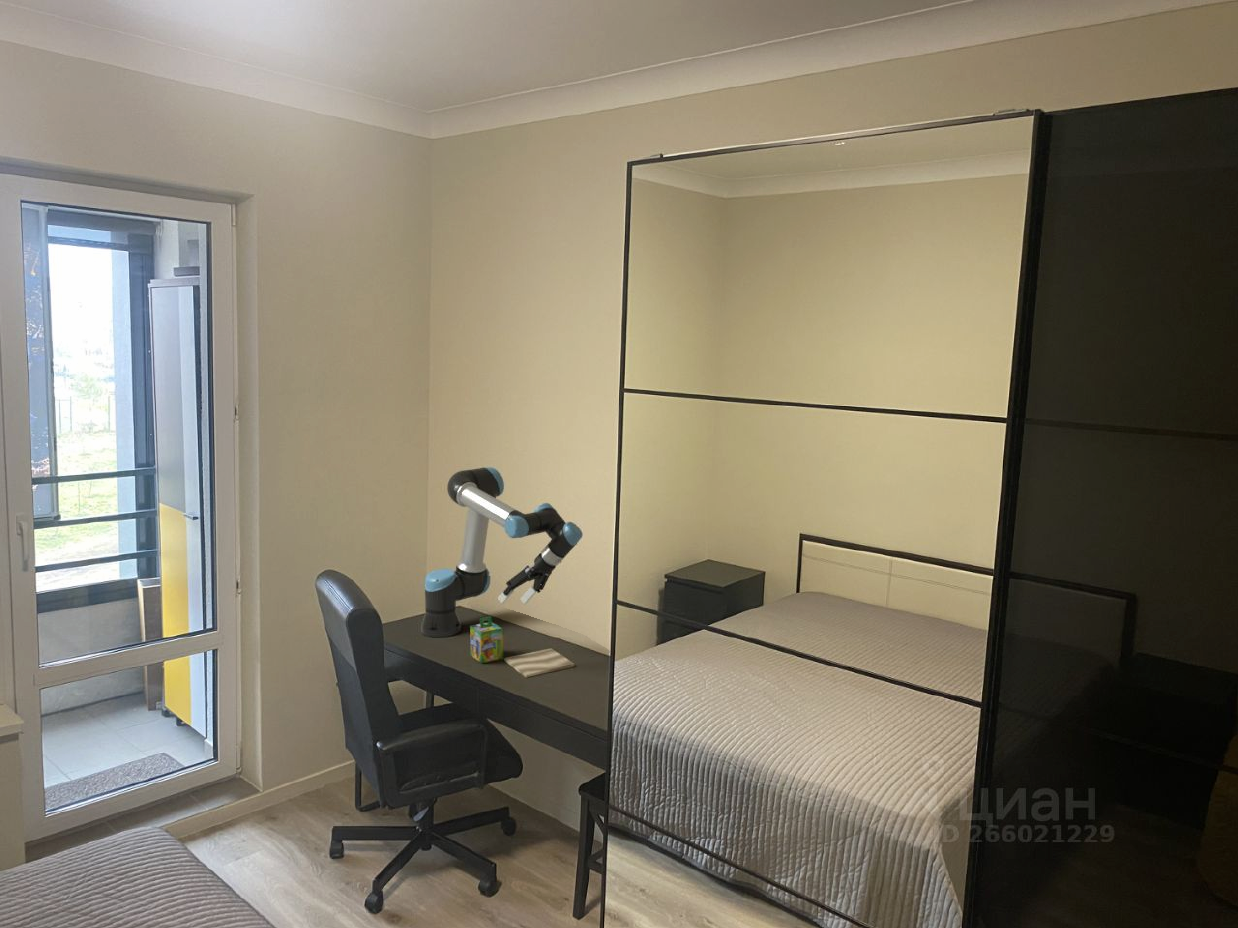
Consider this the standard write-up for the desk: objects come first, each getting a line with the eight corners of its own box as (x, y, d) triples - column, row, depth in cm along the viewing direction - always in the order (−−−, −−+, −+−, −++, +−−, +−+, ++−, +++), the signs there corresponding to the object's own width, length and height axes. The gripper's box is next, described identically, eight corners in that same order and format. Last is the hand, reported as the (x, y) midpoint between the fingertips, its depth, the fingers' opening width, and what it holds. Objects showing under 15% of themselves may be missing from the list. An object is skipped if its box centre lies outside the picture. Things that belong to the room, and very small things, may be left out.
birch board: (504, 660, 312) (504, 658, 312) (551, 650, 323) (551, 648, 322) (525, 677, 298) (525, 674, 298) (574, 666, 309) (574, 663, 308)
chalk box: (481, 664, 309) (480, 624, 306) (469, 656, 316) (469, 616, 314) (504, 658, 314) (504, 619, 312) (492, 650, 322) (492, 612, 319)
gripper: (534, 565, 296) (495, 608, 301) (573, 568, 318) (537, 609, 323) (522, 549, 300) (484, 592, 305) (561, 554, 321) (526, 594, 326)
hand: (511, 601), depth 314 cm, fingers open, 13 cm apart
